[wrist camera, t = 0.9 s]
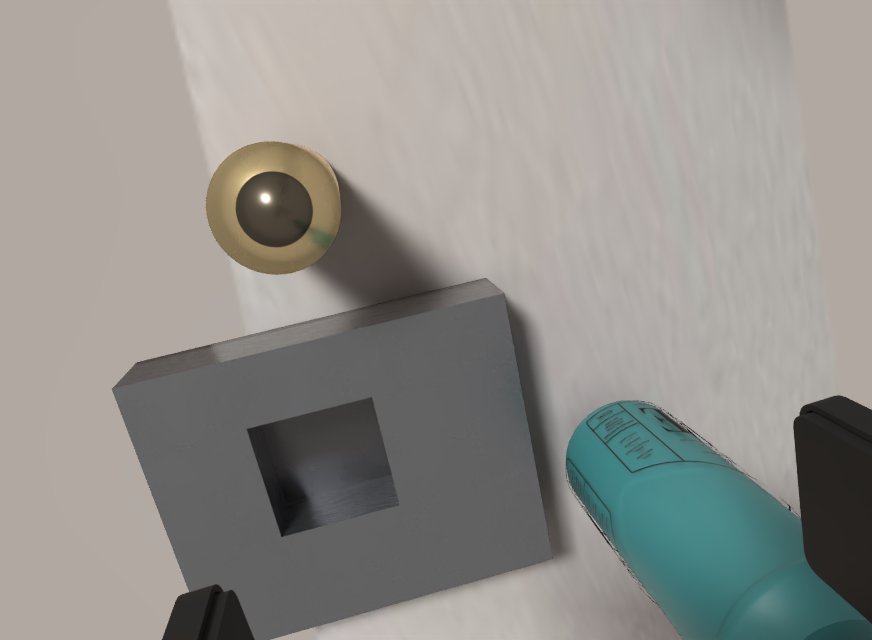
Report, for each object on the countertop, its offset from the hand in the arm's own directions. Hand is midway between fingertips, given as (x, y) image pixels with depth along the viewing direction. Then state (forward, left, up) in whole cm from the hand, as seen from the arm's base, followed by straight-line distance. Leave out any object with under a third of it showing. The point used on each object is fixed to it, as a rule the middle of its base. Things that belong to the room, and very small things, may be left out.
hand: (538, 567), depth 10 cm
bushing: (-5, -4, -22) cm, 23 cm away
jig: (+8, -4, -22) cm, 23 cm away
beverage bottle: (+11, +9, -22) cm, 26 cm away
